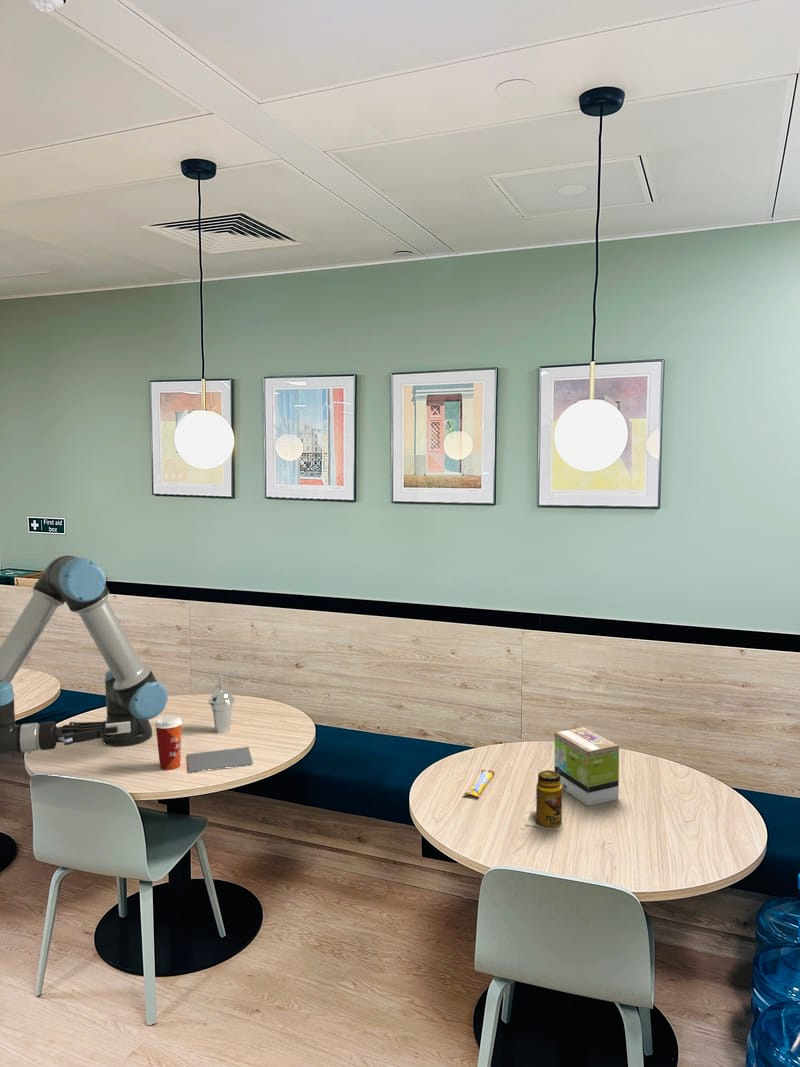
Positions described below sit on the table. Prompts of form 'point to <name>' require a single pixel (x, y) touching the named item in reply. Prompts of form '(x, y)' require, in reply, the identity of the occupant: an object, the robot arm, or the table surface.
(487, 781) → the candy bar
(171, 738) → the paper cup
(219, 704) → the cup with straw
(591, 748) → the tea box
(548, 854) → the table surface
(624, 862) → the table surface
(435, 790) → the table surface
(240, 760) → the mat
